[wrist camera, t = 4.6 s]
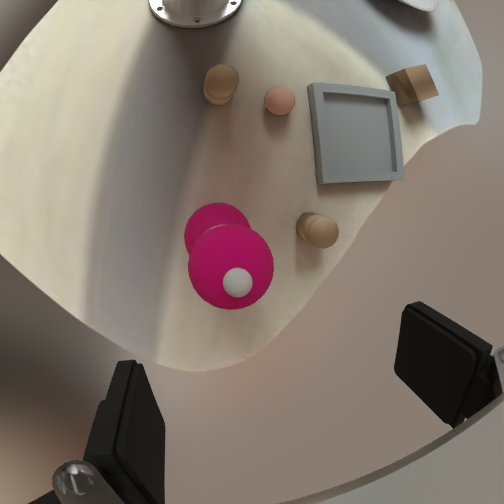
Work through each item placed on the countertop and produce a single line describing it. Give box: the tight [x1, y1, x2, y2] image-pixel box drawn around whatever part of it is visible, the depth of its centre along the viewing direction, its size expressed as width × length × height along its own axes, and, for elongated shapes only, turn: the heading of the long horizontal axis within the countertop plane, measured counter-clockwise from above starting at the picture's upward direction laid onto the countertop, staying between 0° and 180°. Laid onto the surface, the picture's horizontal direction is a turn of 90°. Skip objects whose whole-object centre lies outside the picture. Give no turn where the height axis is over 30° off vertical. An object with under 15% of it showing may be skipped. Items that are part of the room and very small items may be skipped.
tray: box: [307, 83, 404, 184], centre depth 36 cm, size 13×13×2 cm
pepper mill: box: [184, 203, 274, 310], centre depth 27 cm, size 7×7×20 cm
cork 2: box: [296, 213, 339, 248], centre depth 36 cm, size 4×4×5 cm
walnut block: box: [386, 64, 439, 106], centre depth 34 cm, size 5×5×5 cm
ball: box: [265, 87, 295, 115], centre depth 32 cm, size 4×4×4 cm
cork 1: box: [203, 65, 239, 106], centre depth 30 cm, size 4×4×5 cm
